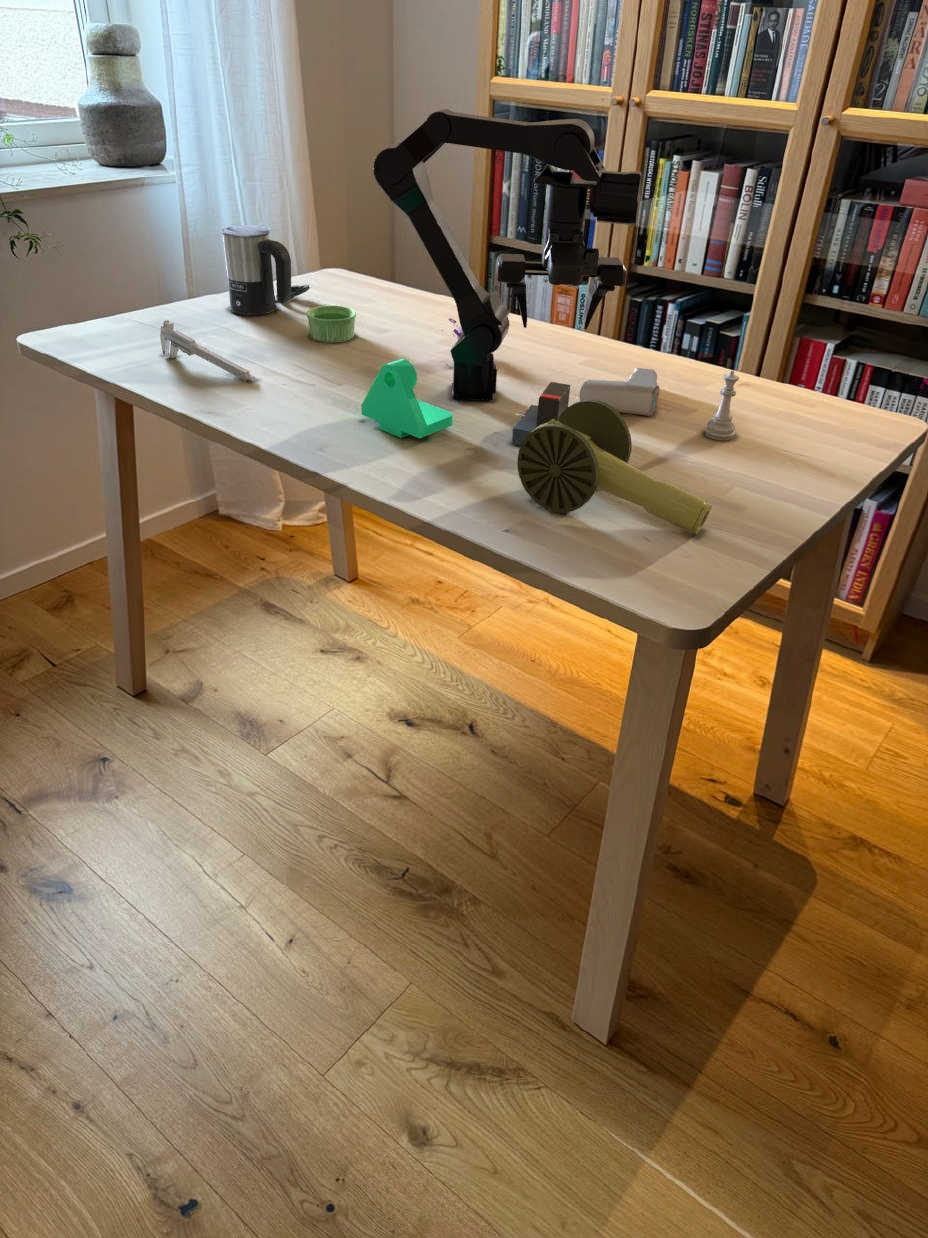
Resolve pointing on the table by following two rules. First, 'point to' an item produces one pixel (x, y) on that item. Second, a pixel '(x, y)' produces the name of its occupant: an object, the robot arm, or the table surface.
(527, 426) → the base
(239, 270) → the milk frother
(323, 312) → the ramekin
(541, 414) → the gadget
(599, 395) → the infrared thermometer
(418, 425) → the camera mount
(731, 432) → the chess piece
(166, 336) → the caliper
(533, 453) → the cannon
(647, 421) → the table surface
